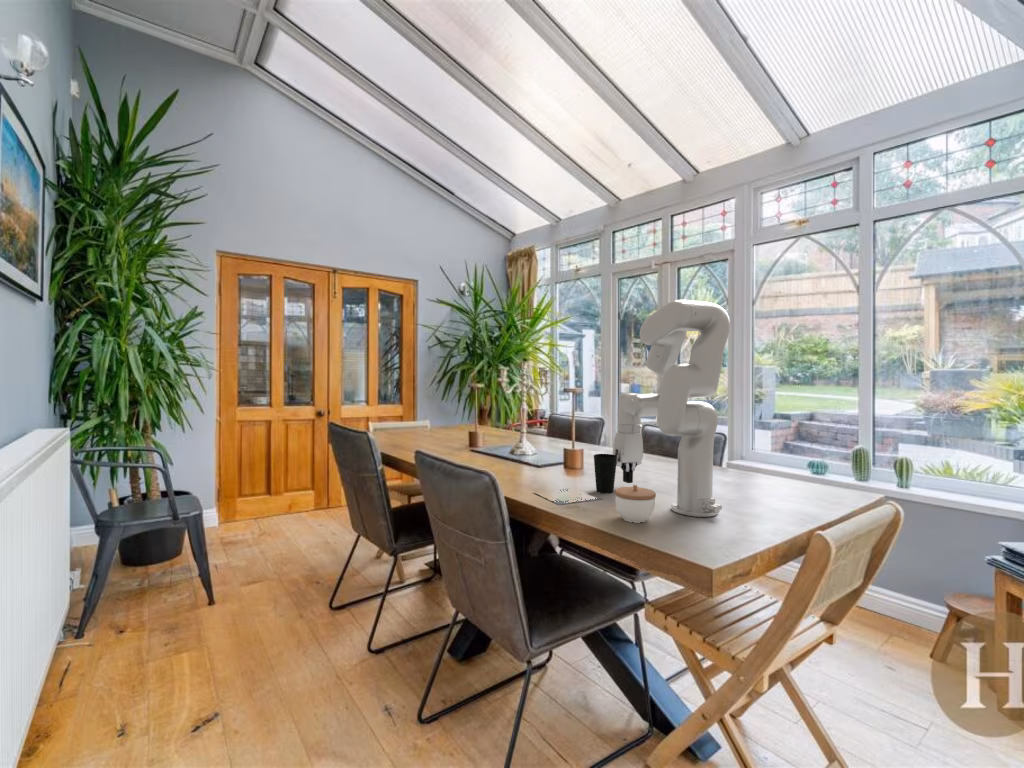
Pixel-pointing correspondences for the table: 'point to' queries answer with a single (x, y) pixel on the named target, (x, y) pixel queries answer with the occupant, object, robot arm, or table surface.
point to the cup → (605, 472)
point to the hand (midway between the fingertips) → (627, 482)
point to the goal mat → (562, 499)
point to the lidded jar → (635, 503)
